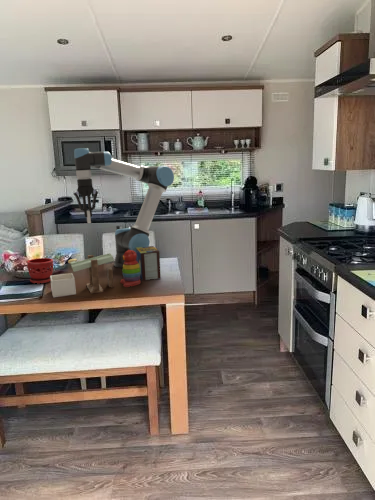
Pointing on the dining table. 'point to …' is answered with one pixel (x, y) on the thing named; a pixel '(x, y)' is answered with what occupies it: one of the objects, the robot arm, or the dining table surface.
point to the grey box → (63, 285)
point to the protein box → (148, 262)
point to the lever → (87, 263)
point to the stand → (97, 277)
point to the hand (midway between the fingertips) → (89, 222)
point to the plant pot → (40, 270)
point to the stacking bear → (130, 269)
